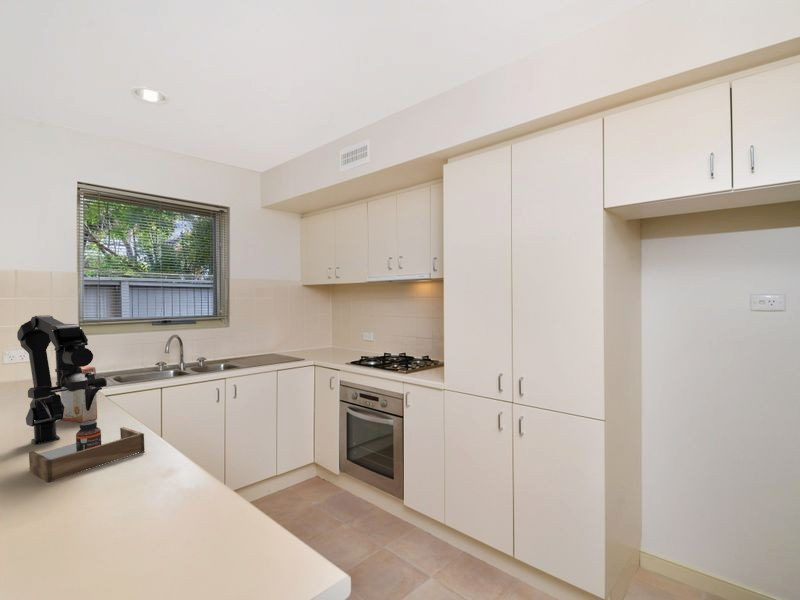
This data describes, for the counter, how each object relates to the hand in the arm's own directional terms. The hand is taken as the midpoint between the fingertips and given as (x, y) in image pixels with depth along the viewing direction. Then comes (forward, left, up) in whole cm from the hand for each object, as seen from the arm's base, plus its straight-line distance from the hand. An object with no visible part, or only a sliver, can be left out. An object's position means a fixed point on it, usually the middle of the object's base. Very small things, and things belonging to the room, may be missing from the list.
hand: (70, 414), depth 130 cm
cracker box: (-40, +11, -12) cm, 43 cm away
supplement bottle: (+14, +1, -12) cm, 18 cm away
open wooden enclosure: (+14, +1, -12) cm, 18 cm away
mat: (+1, 0, -12) cm, 12 cm away
